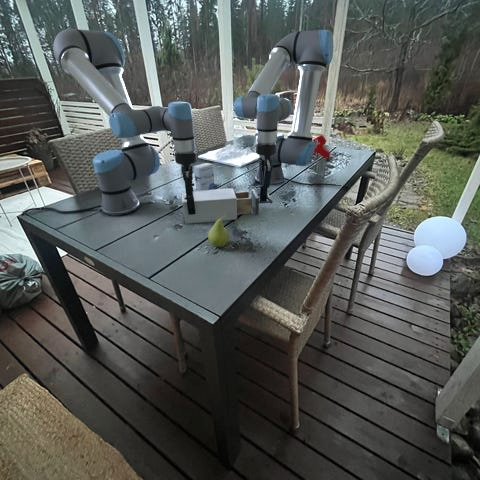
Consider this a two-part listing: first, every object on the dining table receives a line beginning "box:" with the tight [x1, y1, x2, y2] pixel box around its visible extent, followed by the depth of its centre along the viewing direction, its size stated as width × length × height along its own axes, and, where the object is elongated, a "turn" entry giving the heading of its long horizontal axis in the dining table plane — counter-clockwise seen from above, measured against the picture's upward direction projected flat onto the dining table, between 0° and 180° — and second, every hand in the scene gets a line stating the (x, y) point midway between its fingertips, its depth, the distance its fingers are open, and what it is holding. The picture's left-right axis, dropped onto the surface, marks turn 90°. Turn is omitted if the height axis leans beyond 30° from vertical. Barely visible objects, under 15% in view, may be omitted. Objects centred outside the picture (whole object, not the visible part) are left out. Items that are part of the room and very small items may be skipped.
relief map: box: [197, 143, 259, 168], centre depth 180 cm, size 27×35×5 cm
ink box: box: [193, 162, 215, 191], centre depth 132 cm, size 8×5×12 cm, turn 135°
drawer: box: [234, 188, 274, 216], centre depth 110 cm, size 25×9×7 cm, turn 100°
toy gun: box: [312, 133, 331, 161], centre depth 176 cm, size 18×4×15 cm
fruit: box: [207, 212, 230, 248], centre depth 89 cm, size 7×8×12 cm
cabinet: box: [181, 187, 238, 225], centre depth 109 cm, size 20×10×9 cm, turn 100°
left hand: (191, 207), depth 108 cm, fingers closed on cabinet, 10 cm apart
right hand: (263, 201), depth 112 cm, fingers closed
